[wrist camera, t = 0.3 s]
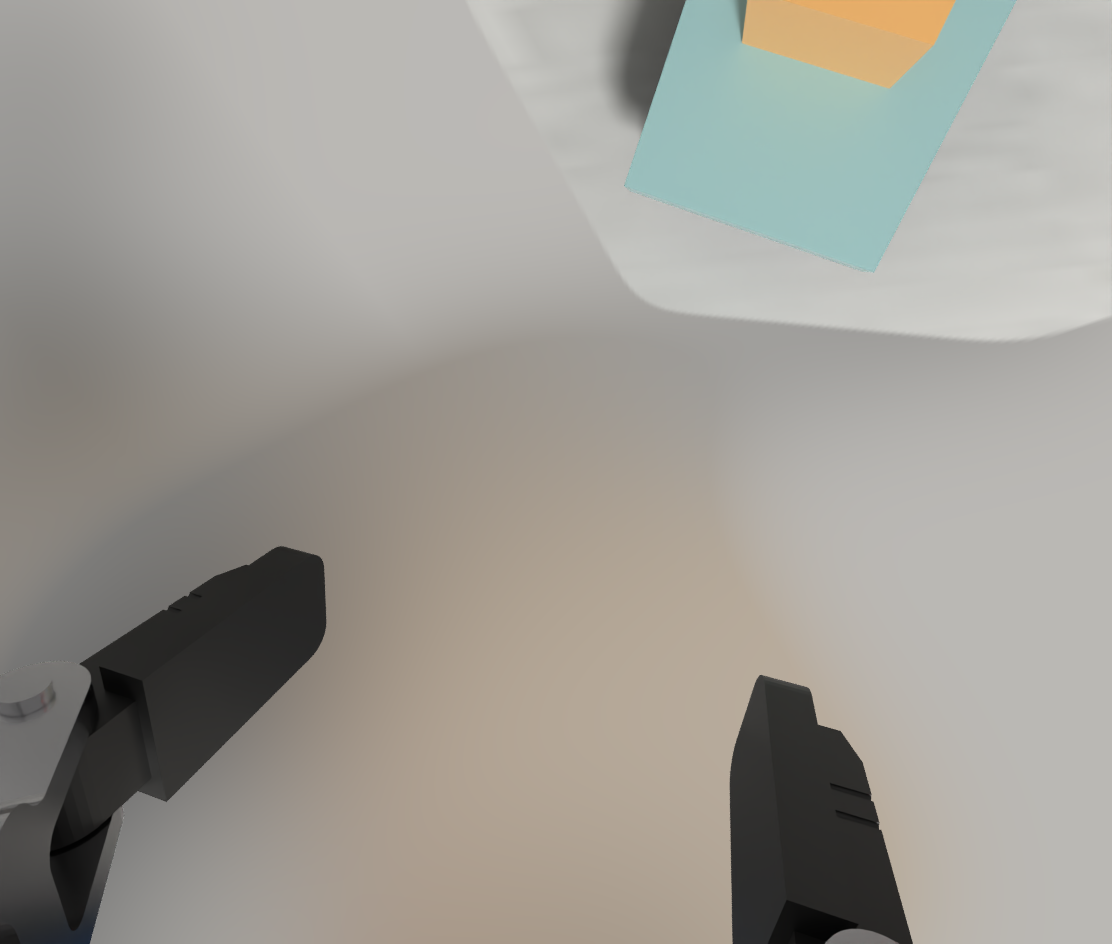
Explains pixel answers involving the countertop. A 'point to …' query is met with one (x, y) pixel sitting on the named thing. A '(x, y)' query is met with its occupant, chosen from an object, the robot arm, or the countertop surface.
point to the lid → (810, 114)
